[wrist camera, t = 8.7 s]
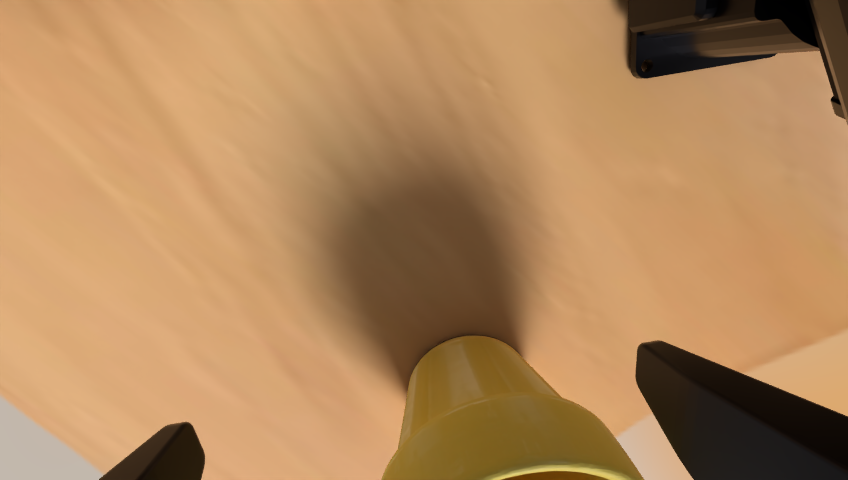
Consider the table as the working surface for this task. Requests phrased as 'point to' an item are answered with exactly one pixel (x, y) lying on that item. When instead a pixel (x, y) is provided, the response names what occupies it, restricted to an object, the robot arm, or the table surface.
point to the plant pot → (497, 422)
